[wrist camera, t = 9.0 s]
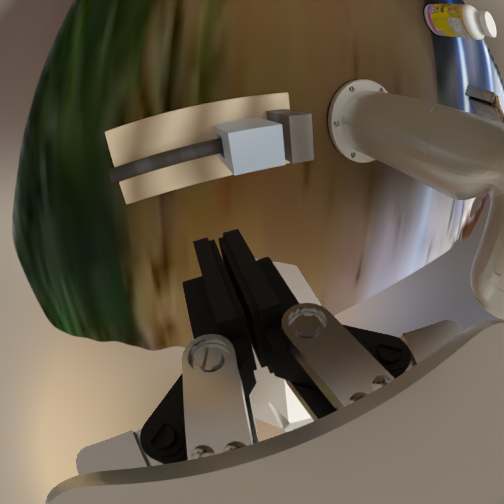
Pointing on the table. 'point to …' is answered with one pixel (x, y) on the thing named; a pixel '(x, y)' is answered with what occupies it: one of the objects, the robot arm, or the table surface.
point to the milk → (274, 388)
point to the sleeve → (251, 145)
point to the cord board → (181, 137)
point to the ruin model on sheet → (485, 104)
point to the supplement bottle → (459, 21)
